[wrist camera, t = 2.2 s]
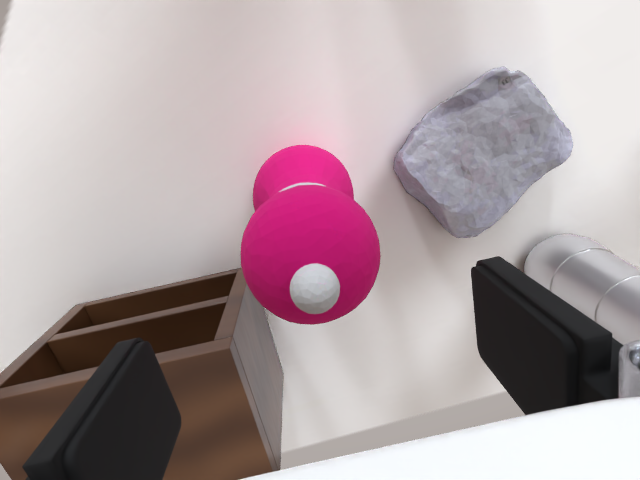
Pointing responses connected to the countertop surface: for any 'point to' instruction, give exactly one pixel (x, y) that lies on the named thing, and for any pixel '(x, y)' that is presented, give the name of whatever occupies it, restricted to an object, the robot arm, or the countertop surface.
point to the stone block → (482, 151)
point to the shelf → (178, 368)
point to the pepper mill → (308, 238)
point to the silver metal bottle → (590, 281)
